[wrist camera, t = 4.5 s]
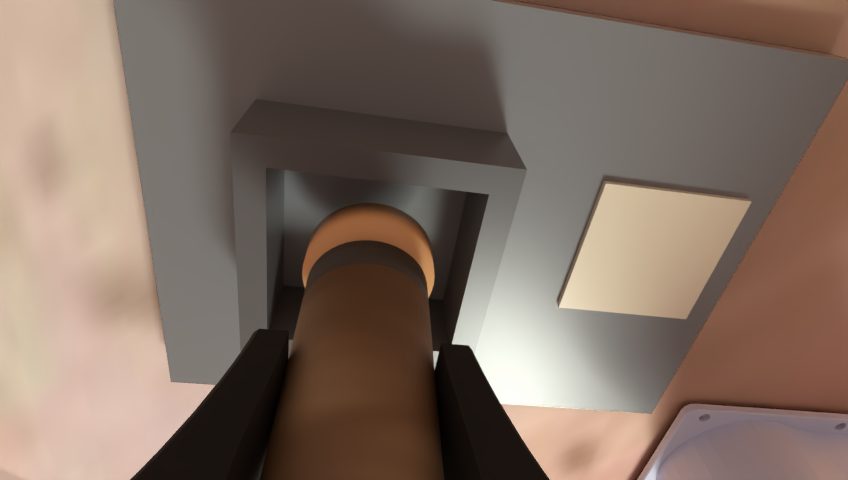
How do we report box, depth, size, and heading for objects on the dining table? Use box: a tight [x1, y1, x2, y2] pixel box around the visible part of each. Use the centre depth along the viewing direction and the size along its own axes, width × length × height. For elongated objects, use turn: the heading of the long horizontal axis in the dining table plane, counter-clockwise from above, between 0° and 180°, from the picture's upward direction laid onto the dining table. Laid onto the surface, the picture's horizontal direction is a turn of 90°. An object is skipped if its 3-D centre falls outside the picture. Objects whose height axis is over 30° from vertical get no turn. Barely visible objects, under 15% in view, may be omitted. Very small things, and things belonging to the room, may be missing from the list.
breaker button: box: [302, 203, 435, 298], centre depth 14 cm, size 4×4×1 cm
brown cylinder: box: [260, 240, 444, 480], centre depth 10 cm, size 3×3×9 cm
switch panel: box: [113, 0, 848, 414], centre depth 16 cm, size 20×15×4 cm
